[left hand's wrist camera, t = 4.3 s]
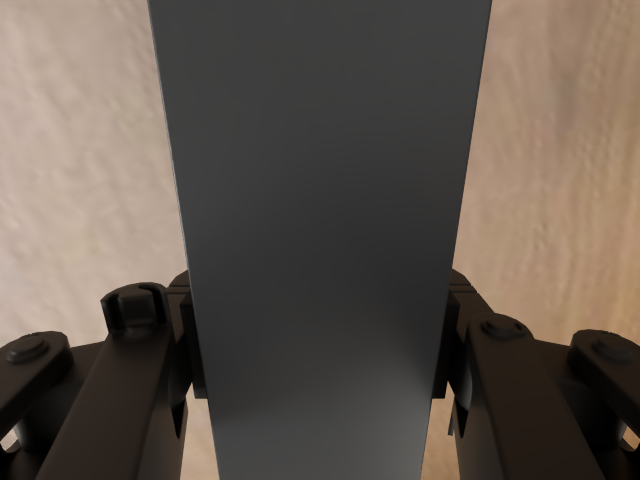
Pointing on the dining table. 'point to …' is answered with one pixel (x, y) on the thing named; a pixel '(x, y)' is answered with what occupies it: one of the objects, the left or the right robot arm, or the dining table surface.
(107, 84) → the dining table surface
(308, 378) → the bar
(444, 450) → the dining table surface
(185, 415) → the left robot arm
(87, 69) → the dining table surface
